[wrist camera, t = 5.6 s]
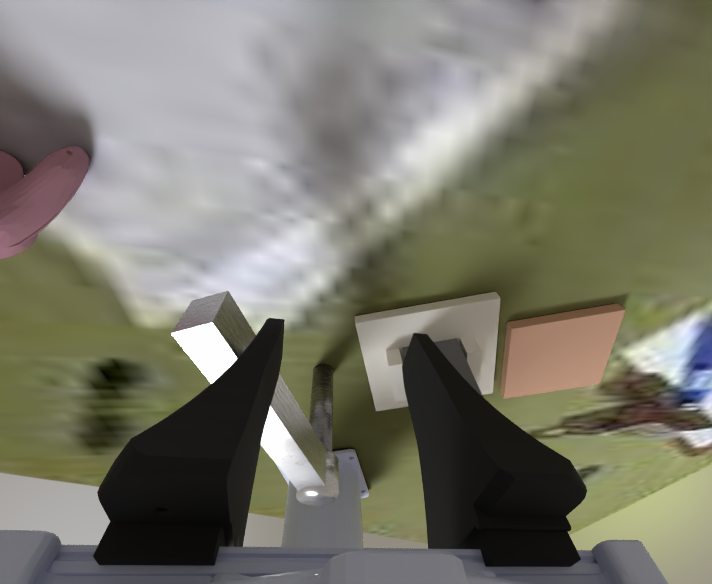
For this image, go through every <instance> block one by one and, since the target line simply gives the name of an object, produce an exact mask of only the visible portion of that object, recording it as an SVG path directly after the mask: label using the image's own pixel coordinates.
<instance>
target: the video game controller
mask: <svg viewBox="0 0 712 584" xmlns="http://www.w3.org/2000/svg"><path fill="white" fill-rule="evenodd" d="M88 166H89V157H88V155H87V154H86V152H85V151H84V150H83V149H81V148H80V147H77V146H70V147H65V148H61V149H59V150H57V151H55V152H53V153H51V154H49V155H47V156H46V157H45V158H44V159H43V160H42V161H41V162H40V163H39V164H38V165H37V166H36V167H35V168H34V169H33V170H32V171H31V172H30V173H29V174H28V175H26V176H24V172H23V169H22V166H21V164H20V163H19V162H18V161H17V160H16V159H15V158H14V157H12V156H10V155H9V154H7V153H4V152H2V151H0V259H1V258H7V257H11V256H14V255H16V254H18V253H21V252H23V251H24V250H26V249H27V248H28V247H29V246H31V245H32V244H33V242H34V241H35V239H36V238H37V235H38V233H39V232H40V231H42V230H43V229H44V228H45V227H46V226H47V225H48V224H49V223H50V222H51V221H52V220H53V219H54V218H55V217H56V216H57V215H58V214H59V213H60V212H61V210H62V209H63V208H64V207H65V206H66V204H67V203H68V202H69V201H70V200H71V198H72V197H73V196H74V195H75V193H76V192H77V190H78V188H79V187H80V185H81V184H82V182H83V179H84V177H85V175H86V173H87V171H88Z"/></svg>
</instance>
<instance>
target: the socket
mask: <svg viewBox="0 0 712 584" xmlns="http://www.w3.org/2000/svg"><path fill="white" fill-rule="evenodd" d="M500 299H501V298H500V297H499V295H498V294H497V293H496V292H491V293H485V294H479V295H474V296H468V297H462V298H456V299H451V300H445V301H439V302H434V303H428V304H422V305H416V306H411V307H405V308H399V309H394V310H388V311H382V312H376V313H371V314H365V315H359V316H355V325H356V329H357V333H358V338H359V342H360V346H361V350H362V354H363V359H364V363H365V367H366V371H367V375H368V379H369V384H370V388H371V392H372V396H373V400H374V405H375V409H376V411H382V410H389V409H395V408H401V407H408V402H407V398H406V393H405V389H404V382H403V372H402V364H403V362H404V356H403V349H402V347H407V346H409V344H410V341H411V339H412V336H413V333H421V334H427V335H428V336H429V337H430V338H431V340H432V341H433V342H437V341H443V340H449V339H455V338H457V340H458V343H459V345H460V347H461V349H462V351H463V354H464V356H465V358H466V360H467V362H468V365H469V367H470V369H471V371H472V373H473V376H474V378H475V380H476V382H477V384H478V387H479V389H480V391H481V393H482V395H484V394H491V393H493V384H494V372H495V360H496V348H497V336H498V323H499V311H500ZM309 423H310V425H311V426H312V428H313V429H314V431H315V433H316V434H317V436H318V438H319V439H320V441H321V442H322V444H323V446H324V447H325V449H326V451H329V452H332V425H333V369H332V368H331V367H330V366H328V365H319V366H317V367H315V368H314V370H313V381H312V394H311V406H310V418H309Z"/></svg>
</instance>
